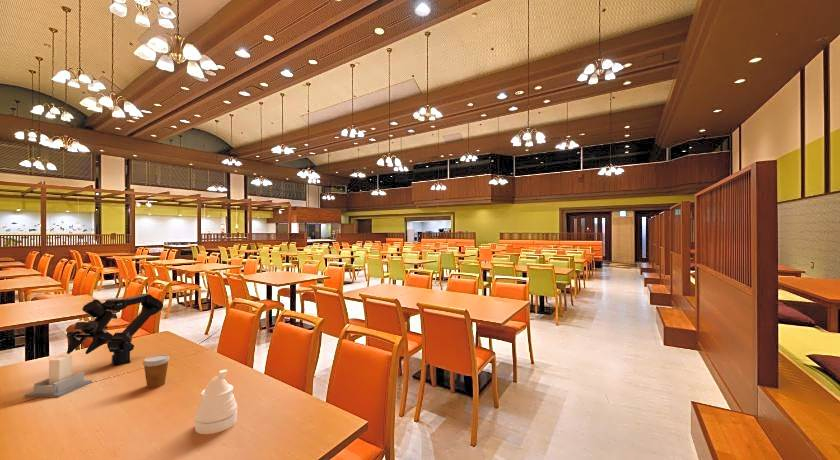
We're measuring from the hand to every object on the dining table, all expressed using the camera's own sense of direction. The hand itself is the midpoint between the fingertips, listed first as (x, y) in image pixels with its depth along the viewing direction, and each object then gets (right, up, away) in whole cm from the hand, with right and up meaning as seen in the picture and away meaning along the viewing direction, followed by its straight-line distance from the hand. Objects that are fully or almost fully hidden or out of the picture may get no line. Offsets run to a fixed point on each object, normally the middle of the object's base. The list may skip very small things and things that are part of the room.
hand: (76, 353), depth 155 cm
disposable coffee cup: (+39, -13, -3) cm, 41 cm away
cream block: (+1, -11, -8) cm, 14 cm away
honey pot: (+84, -13, -34) cm, 91 cm away
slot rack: (+1, -12, -8) cm, 15 cm away
